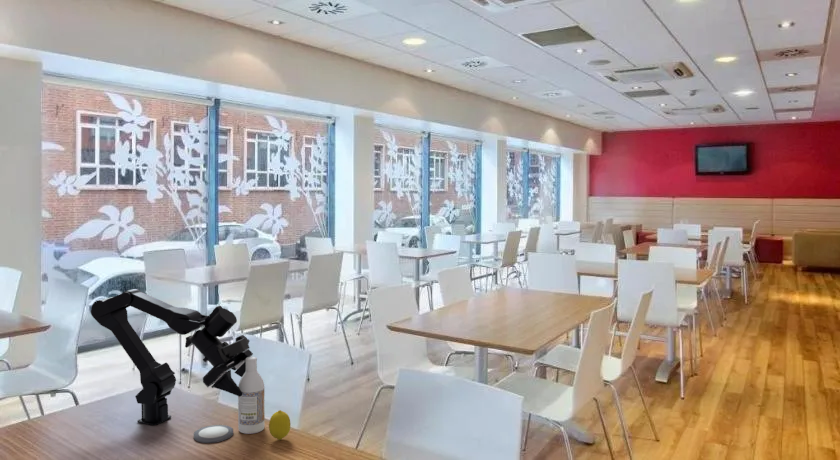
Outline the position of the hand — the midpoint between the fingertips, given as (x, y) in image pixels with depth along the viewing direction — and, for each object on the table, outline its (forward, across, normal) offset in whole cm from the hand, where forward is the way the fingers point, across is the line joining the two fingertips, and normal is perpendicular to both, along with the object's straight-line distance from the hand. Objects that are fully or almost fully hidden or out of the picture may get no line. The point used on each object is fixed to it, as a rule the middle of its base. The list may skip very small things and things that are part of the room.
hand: (249, 389), depth 165 cm
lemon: (+16, -5, 0) cm, 16 cm away
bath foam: (+8, 0, +8) cm, 11 cm away
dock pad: (+2, -6, +13) cm, 15 cm away
